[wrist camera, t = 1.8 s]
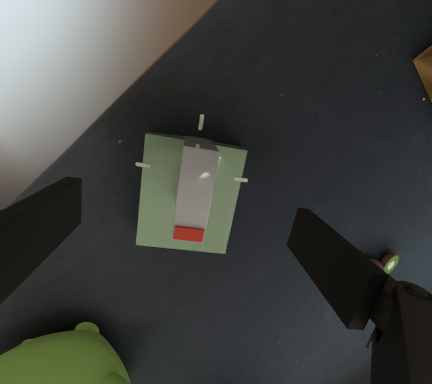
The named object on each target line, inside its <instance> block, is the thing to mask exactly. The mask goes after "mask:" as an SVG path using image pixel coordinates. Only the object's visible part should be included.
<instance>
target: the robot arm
mask: <svg viewBox="0 0 432 384" xmlns="http://www.w3.org/2000/svg"><path fill="white" fill-rule="evenodd" d="M81 181H82V179H81V178H74V177H65V178H63V179H61V180H59V181H58V182H56V183H54V184H52V185H50V186H48V187H46V188H44V189H42V190H40V191H38V192H36V193H34V194H33V195H31V196H29V197H27V198H25V199H23V200H21V201H19V202H17V203H15V204H13V205H11V206H10V207H8V208H6V209H4V210H0V304H1V303H2V302H3V301H4V300H5V299H6V298H7V297H8V296H9V295H10V294H11V293H12V292H13V291H14V290H15V289H16V288H17V287H18V286H19V285H20V284H21V283H22V282H23V281H24V280H25V279H26V278H27V277H28V276H29V275H30V274H31V273H32V272H33V271H34V270H35V269H36V268H37V267H38V266H39V265H40V264H41V263H42V262H43V261H44V260H45V259H46V258H47V257H48V256H49V255H50V254H51V253H52V252H53V251H54V250H55V249H56V248H57V247H58V246H59V245H60V244H61V243H62V242H63V241H64V240H65V239H66V238H67V237H68V236H69V235H70V234H71V232H72V231H73V230H74V229H75V228H76V227H77V226H78V225H79V224H80V223H81ZM287 246H288V247H289V249H290V250H291V252H292V253H293V254H294V256H295V257H296V258H297V260H298V261H299V263H300V264H301V265H302V267H303V268H304V270H305V271H306V272H307V274H308V275H309V276H310V278H311V279H312V281H313V282H314V283H315V285H316V286H317V288H318V289H319V290H320V292H321V293H322V294H323V296H324V297H325V299H326V300H327V301H328V303H329V304H330V306H331V307H332V308H333V310H334V311H335V312H336V314H337V315H338V317H339V318H340V319H341V321H342V322H343V324H344V325H345V326H346V328H347V329H357V330H364V328H365V326H366V324H367V322H368V320H369V318H370V319H371V320H372V321H373V323H374V324H375V325H376V326H375V329H374V331H373V333H372V335H371V337H370V339H369V341H368V343H367V345H366V348H368V349H369V347H370V346H372V356H371V384H432V294H431V293H429V292H428V291H426V290H425V289H423V288H421V287H419V286H418V285H415V284H412V283H409V282H406V281H396V280H395V279H393V278H392V277H391V276H390V275H389V274H387V273H386V272H385V271H384V270H383V269H381V268H380V267H379V266H378V265H376V264H375V263H374V262H373V261H371V260H370V259H369V258H368V257H367V256H365V255H364V254H363V253H362V252H361V251H359V250H358V249H357V248H356V247H354V246H353V245H352V244H351V243H350V242H348V241H347V240H346V239H345V238H343V237H342V236H341V235H340V234H339V233H337V232H336V231H335V230H334V229H333V228H331V227H330V226H329V225H328V224H326V223H325V222H324V221H323V220H322V219H320V218H319V217H318V216H317V215H315V214H314V213H313V212H312V211H311V210H309V209H304V208H298V209H297V213H296V216H295V219H294V223H293V226H292V229H291V233H290V236H289V239H288V243H287Z"/></svg>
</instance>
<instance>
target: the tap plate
mask: <svg viewBox="0 0 432 384" xmlns="http://www.w3.org/2000/svg"><path fill="white" fill-rule="evenodd" d="M203 120H204V115H202V114H200V121H199V127H198V130H202V127H203ZM184 141H185V137H182V136H177V135H171V134H165V133H159V132H153V131H150V132H148V133H146V134H145V143H144V154H143V163H140V162H136V166H140V167H142V178H141V190H140V201H139V213H138V225H137V237H136V245H142V246H152V247H162V248H172V249H182V250H192V251H202V252H212V253H222V254H225V252H226V248H227V243H228V238H229V234H230V229H231V225H232V220H233V216H234V211H235V206H236V202H237V197H238V193H239V188H240V183H241V181H242V182H247V180H248V179H246V178H242V174H243V170H244V165H245V160H246V156H247V150H245V149H244V148H243V147H241V146H235V145H229V144H223V143H218V142H213V143H214V144H215V146H216V147H217V148H218V150H219V151H220V157H219V163H218V168H217V174H216V179H215V185H214V190H213V196H212V201H211V206H210V212H209V217H208V223H207V228H206V234H205V239H204V243H200V242H191V241H181V240H172V239H171V234H172V226H173V219H174V211H175V204H176V196H177V189H178V182H179V174H180V167H181V159H182V152H183V146H184Z"/></svg>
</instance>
